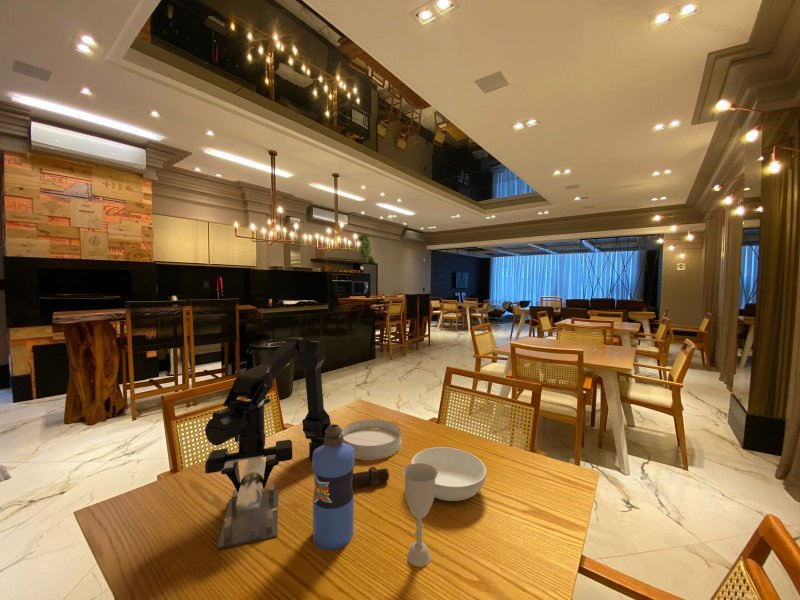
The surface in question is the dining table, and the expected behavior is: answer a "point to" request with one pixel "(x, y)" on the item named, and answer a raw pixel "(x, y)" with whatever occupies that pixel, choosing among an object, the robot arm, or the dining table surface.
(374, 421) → the dish
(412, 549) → the chalice
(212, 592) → the dining table surface
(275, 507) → the collar cradle
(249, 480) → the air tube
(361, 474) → the bolt
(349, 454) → the water bottle
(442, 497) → the serving bowl
